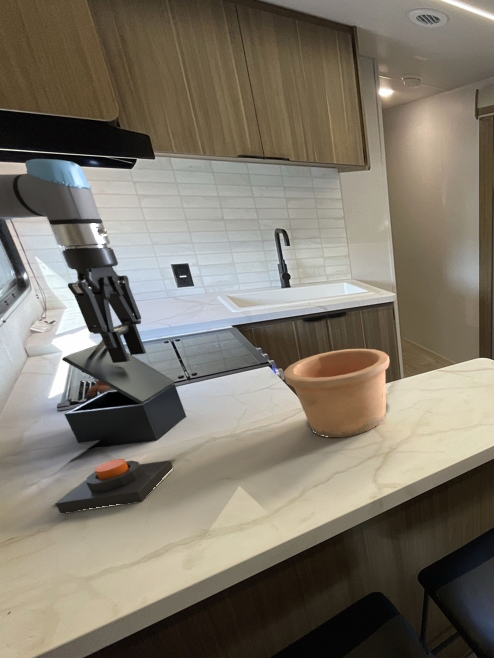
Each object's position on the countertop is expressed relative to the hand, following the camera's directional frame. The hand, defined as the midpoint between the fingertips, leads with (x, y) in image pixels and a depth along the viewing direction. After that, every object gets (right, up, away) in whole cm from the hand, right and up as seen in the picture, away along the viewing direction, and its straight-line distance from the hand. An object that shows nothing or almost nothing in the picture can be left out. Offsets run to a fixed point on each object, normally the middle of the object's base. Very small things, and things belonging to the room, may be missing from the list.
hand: (130, 357), depth 88 cm
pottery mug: (-25, -12, +22) cm, 36 cm away
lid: (-2, -3, +1) cm, 4 cm away
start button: (+13, -21, -18) cm, 31 cm away
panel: (+14, -25, -16) cm, 33 cm away
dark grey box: (-3, -17, +6) cm, 18 cm away
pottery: (+46, -15, +6) cm, 49 cm away
